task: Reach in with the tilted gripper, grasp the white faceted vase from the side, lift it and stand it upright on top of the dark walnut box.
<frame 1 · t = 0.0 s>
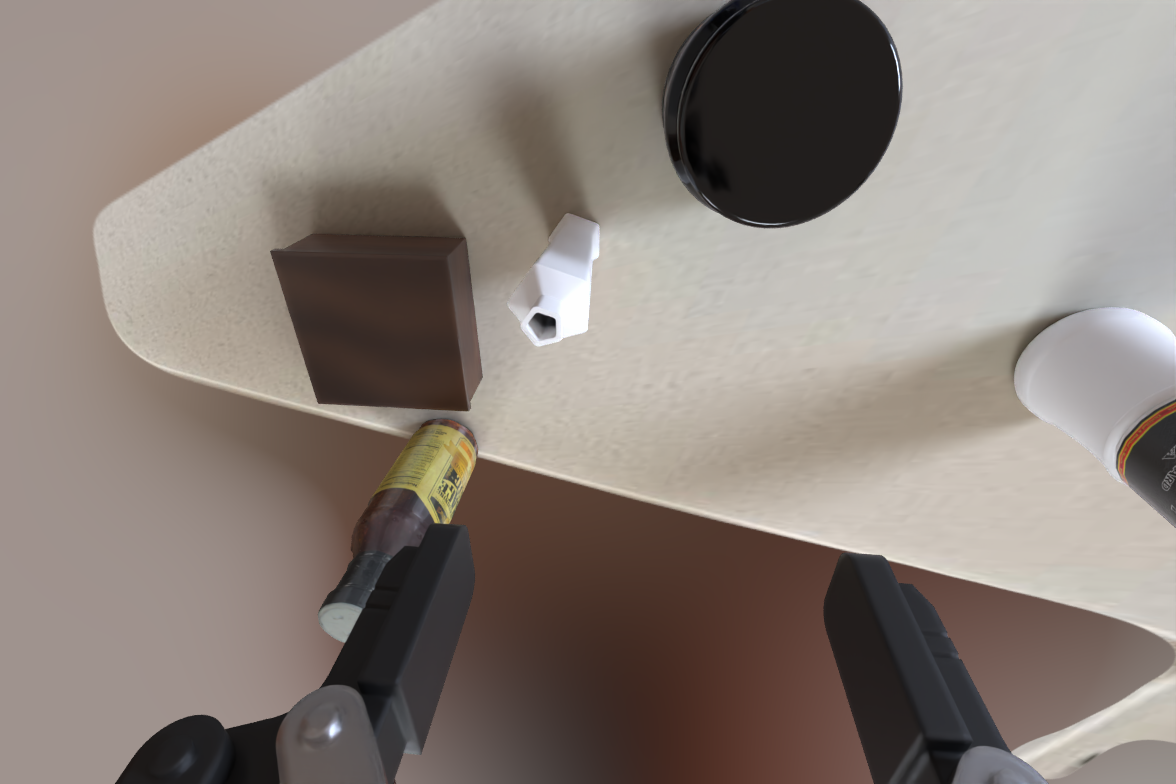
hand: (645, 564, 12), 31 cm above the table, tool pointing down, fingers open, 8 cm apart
supplement container: (745, 101, 34), on the table
sauce bottle: (449, 439, 51), on the table
box: (402, 309, 44), on the table
white faceted vase: (573, 239, 40), on the table
vodka: (1075, 358, 41), on the table
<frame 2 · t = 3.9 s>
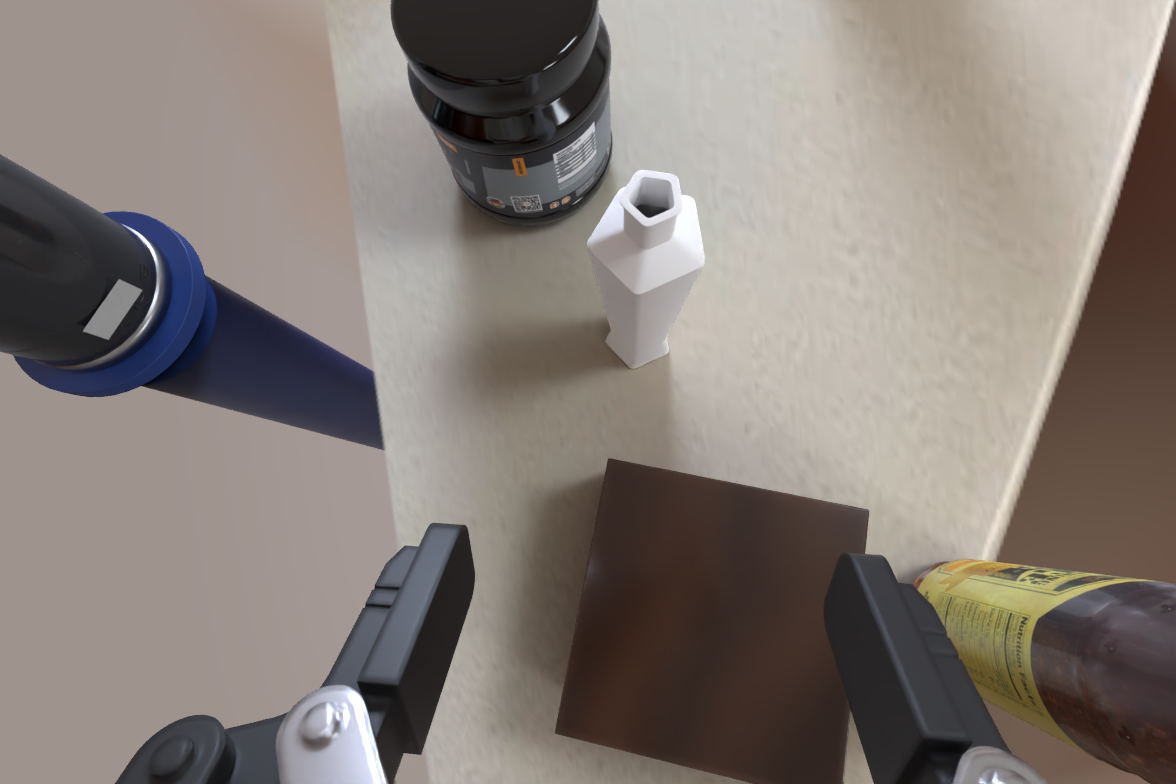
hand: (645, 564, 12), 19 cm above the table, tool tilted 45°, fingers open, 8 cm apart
supplement container: (534, 163, 36), on the table
sauce bottle: (950, 615, 29), on the table
box: (700, 601, 29), on the table
white faceted vase: (637, 341, 33), on the table
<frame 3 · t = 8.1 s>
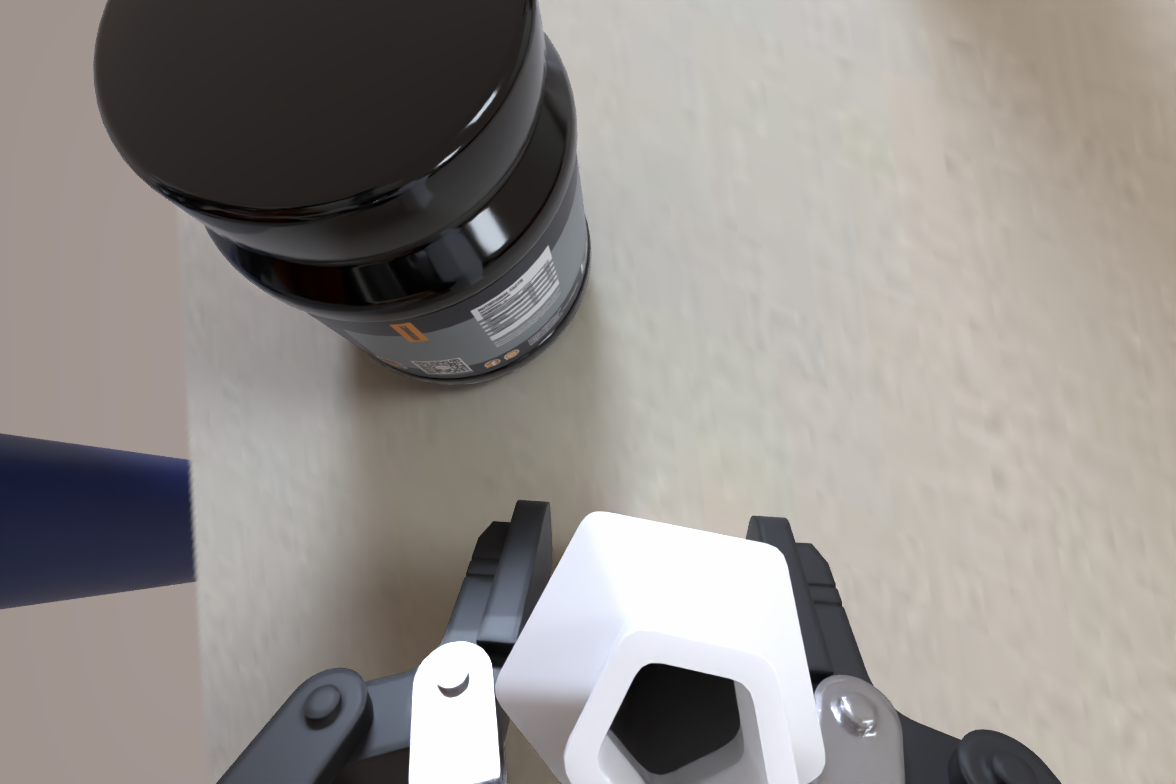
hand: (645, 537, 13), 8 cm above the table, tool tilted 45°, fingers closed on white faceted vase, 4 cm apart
supplement container: (470, 273, 23), on the table
white faceted vase: (636, 585, 20), on the table, touching gripper
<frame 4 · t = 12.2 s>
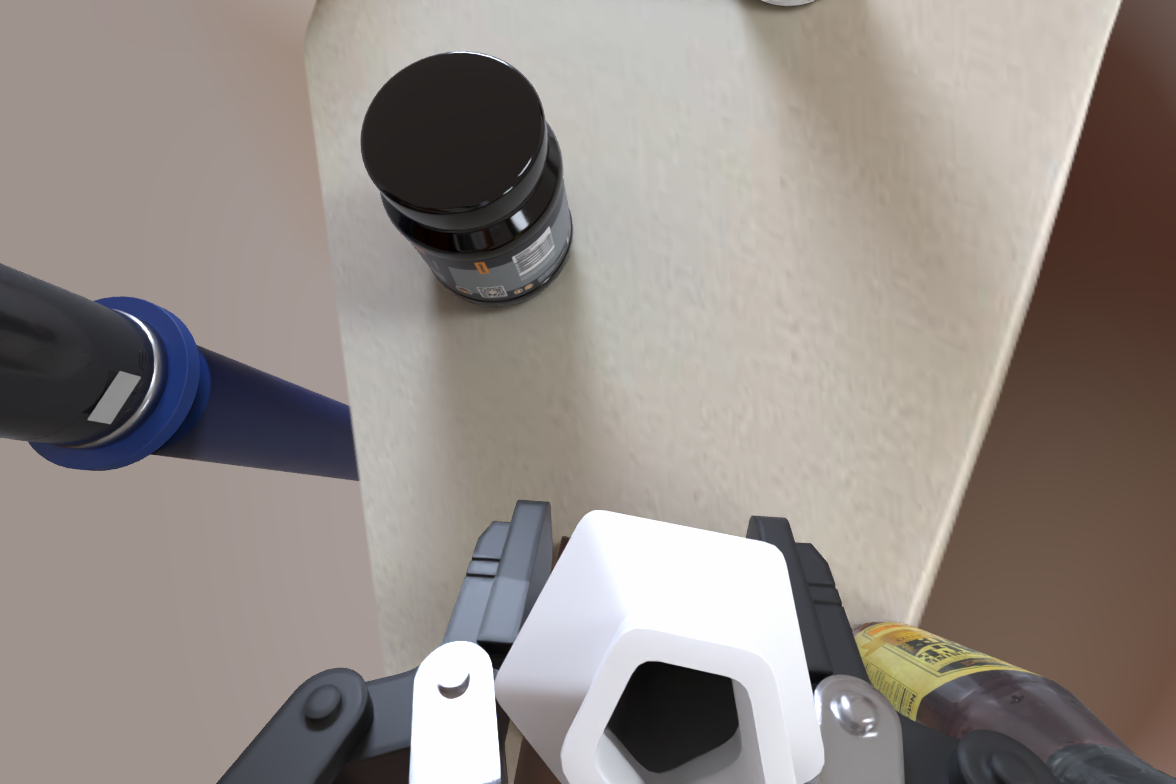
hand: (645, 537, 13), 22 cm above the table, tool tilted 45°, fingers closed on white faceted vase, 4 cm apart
supplement container: (502, 244, 39), on the table
sauce bottle: (879, 671, 32), on the table
box: (651, 659, 32), on the table
white faceted vase: (637, 584, 20), point 14 cm above the table, touching gripper
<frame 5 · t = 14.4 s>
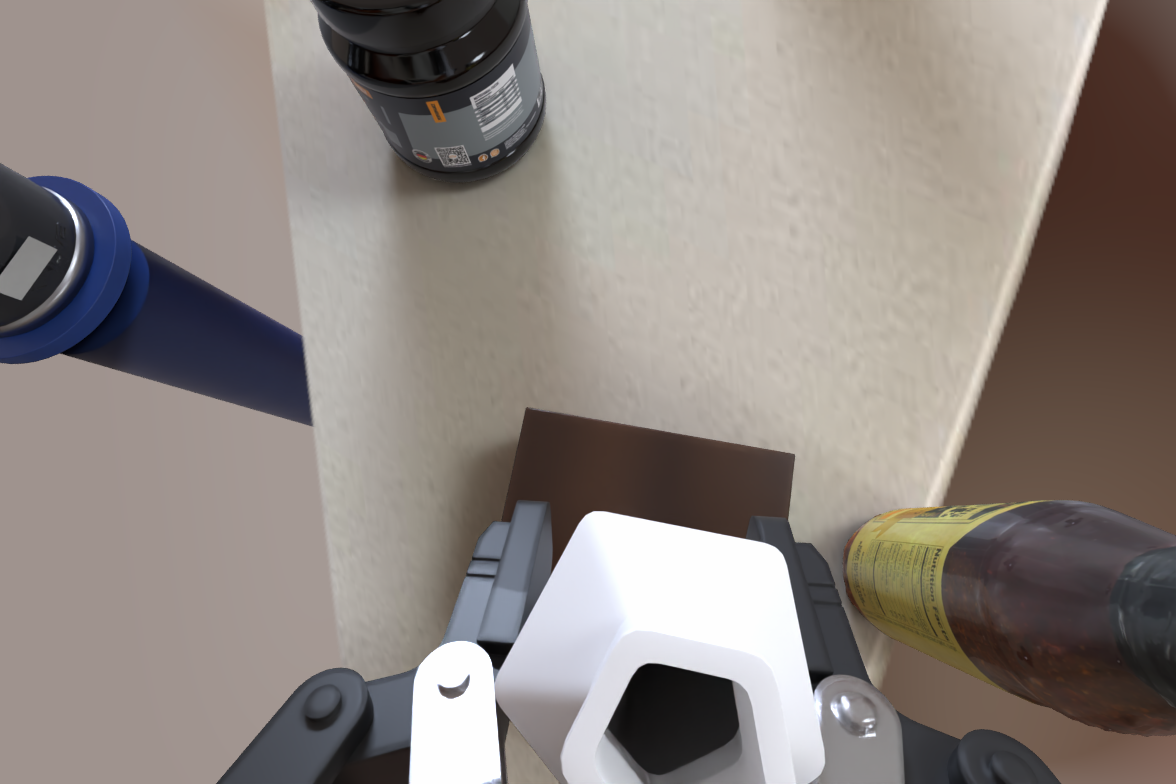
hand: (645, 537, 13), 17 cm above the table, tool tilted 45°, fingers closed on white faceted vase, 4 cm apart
supplement container: (469, 121, 35), on the table
sauce bottle: (892, 570, 28), on the table
box: (632, 560, 28), on the table
white faceted vase: (637, 585, 20), point 9 cm above the table, touching gripper
when the fingers open (13 cm above the table, at t = 16.1 s): white faceted vase stays where it is, resting on box.
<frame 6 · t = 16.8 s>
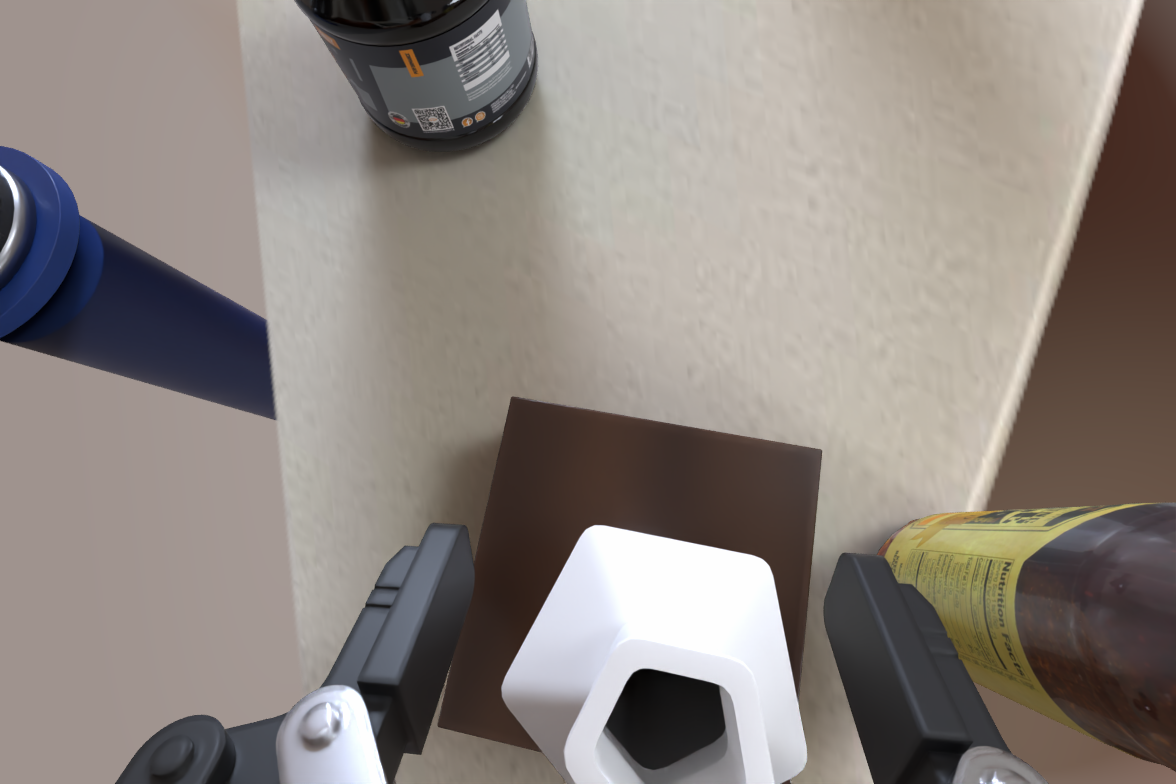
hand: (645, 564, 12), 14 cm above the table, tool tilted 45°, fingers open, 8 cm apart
supplement container: (454, 86, 32), on the table
sauce bottle: (929, 583, 24), on the table
box: (634, 571, 25), on the table
white faceted vase: (637, 589, 20), point 5 cm above the table, touching box
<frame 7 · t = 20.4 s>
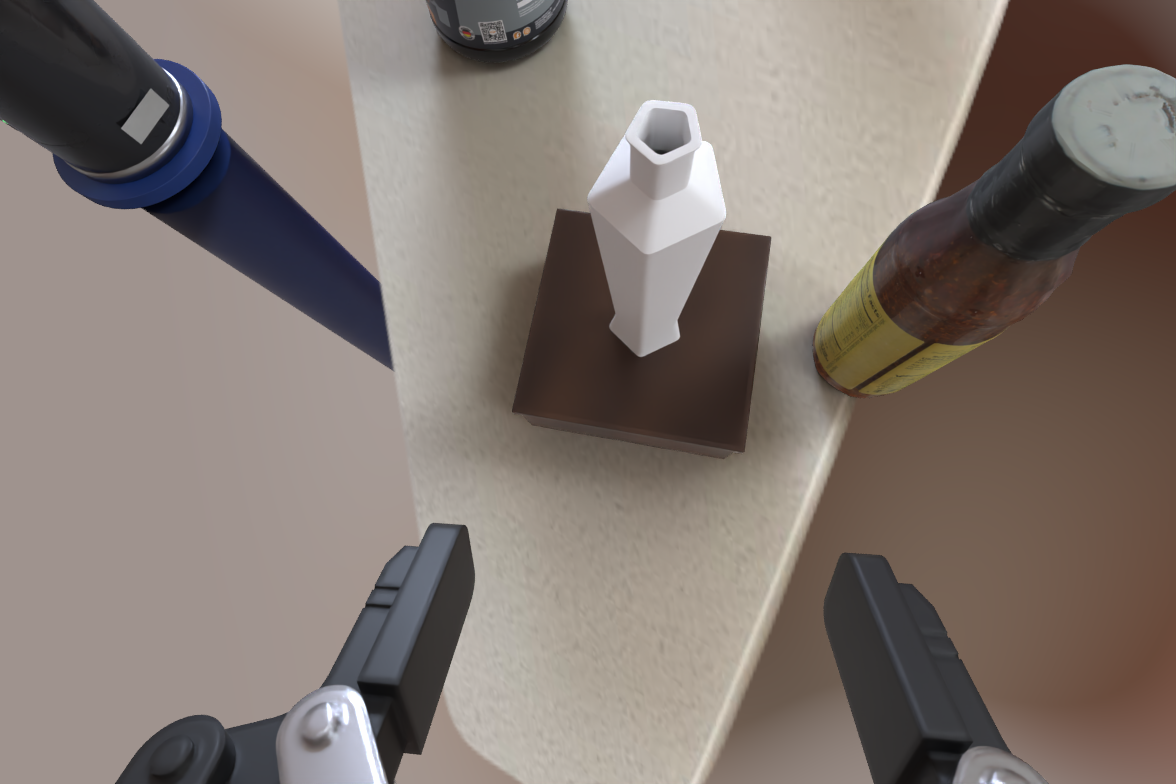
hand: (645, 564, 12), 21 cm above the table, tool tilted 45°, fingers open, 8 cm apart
supplement container: (502, 16, 42), on the table
sauce bottle: (853, 353, 34), on the table
box: (642, 350, 35), on the table
white faceted vase: (645, 326, 30), point 5 cm above the table, touching box
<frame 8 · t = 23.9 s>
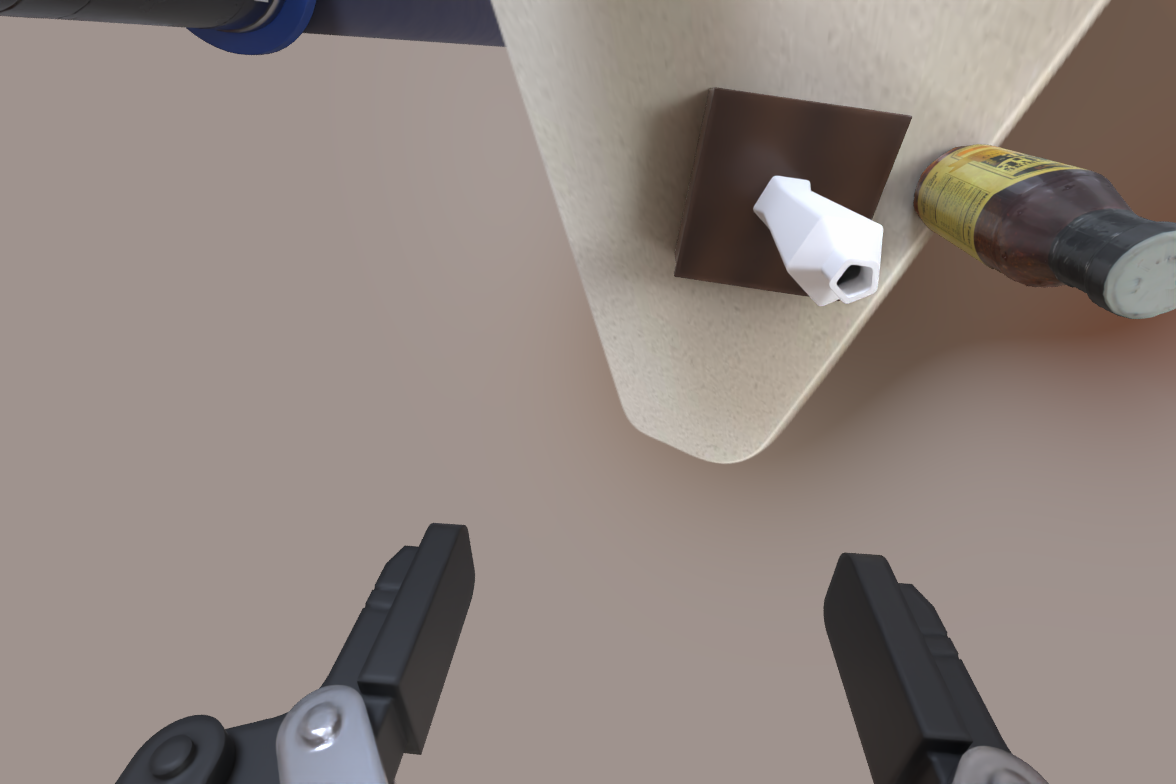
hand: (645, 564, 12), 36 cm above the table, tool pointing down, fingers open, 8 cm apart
sauce bottle: (950, 185, 40), on the table
box: (768, 188, 41), on the table
white faceted vase: (782, 206, 37), point 5 cm above the table, touching box
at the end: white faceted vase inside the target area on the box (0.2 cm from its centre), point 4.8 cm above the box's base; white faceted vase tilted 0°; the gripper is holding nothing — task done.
